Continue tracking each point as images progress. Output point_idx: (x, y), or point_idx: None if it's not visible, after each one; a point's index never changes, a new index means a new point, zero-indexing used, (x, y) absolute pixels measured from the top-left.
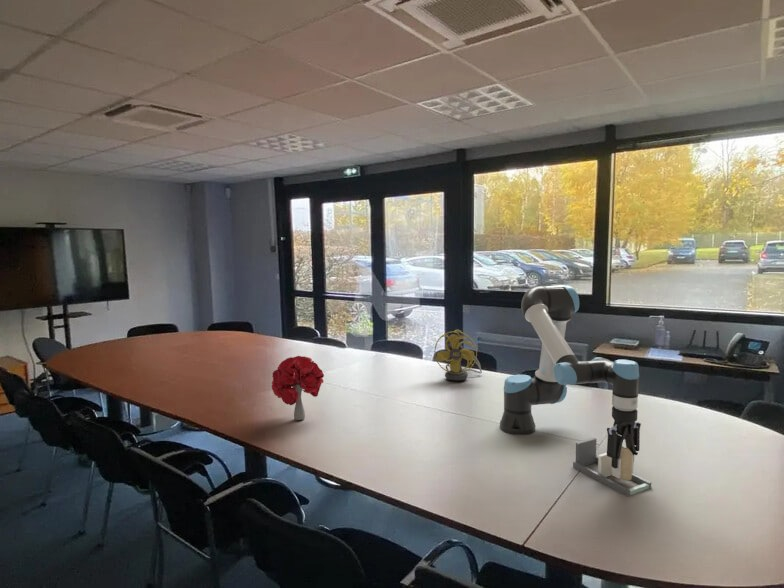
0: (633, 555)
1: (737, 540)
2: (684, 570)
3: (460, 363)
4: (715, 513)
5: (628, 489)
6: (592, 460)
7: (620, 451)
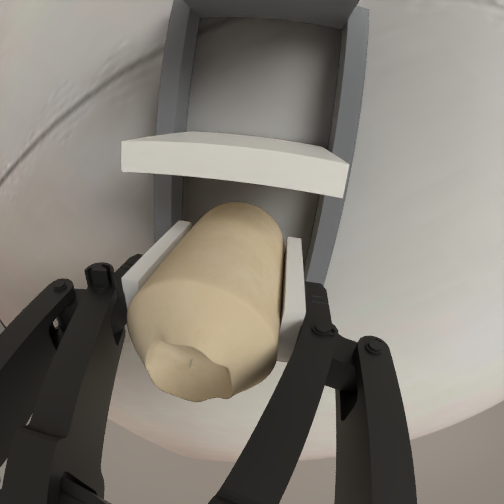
0: None
1: (233, 444)
2: None
3: None
4: None
5: None
6: (315, 18)
7: (114, 373)
